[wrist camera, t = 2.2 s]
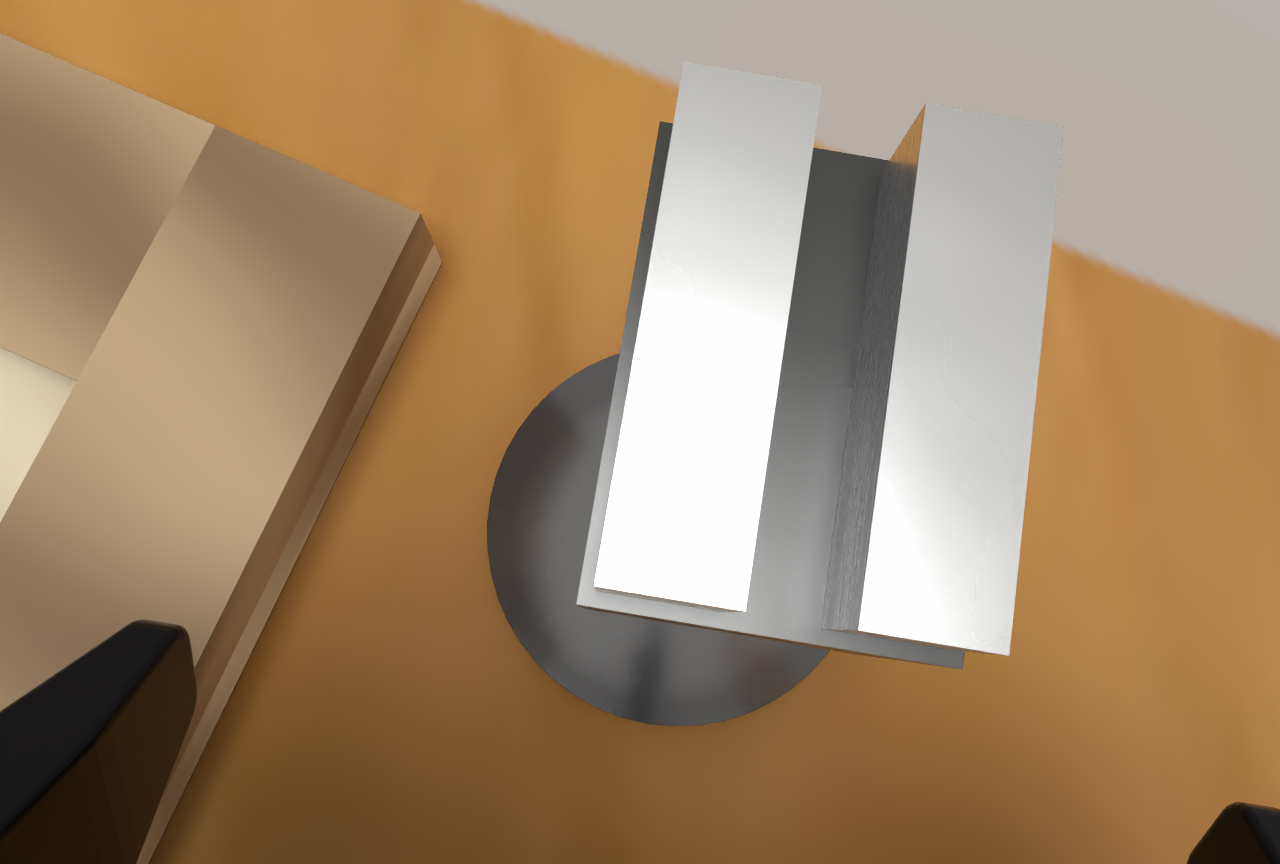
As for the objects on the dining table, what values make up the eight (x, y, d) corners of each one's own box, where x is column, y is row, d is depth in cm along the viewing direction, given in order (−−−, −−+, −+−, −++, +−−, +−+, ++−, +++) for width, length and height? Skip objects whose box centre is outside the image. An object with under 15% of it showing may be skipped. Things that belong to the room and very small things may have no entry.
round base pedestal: (822, 745, 19) (1387, 1068, 5) (464, 685, 19) (114, 859, 5) (868, 396, 20) (1436, -76, 6) (530, 338, 20) (381, -259, 6)
